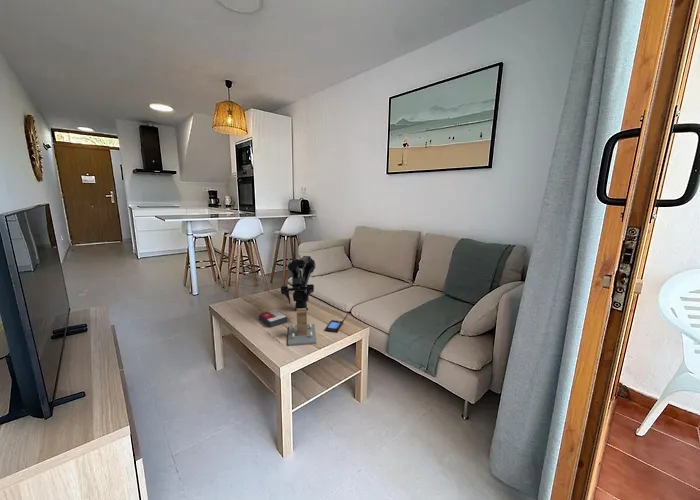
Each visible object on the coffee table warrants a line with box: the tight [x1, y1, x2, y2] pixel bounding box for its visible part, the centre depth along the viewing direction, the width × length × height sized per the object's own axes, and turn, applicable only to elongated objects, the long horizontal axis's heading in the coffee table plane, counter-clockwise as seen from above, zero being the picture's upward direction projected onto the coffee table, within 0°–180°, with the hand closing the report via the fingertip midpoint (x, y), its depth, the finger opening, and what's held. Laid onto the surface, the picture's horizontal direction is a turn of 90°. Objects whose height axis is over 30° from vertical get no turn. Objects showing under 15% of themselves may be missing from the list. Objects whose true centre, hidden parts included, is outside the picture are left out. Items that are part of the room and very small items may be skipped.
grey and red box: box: [258, 309, 288, 329], centre depth 170 cm, size 11×4×15 cm
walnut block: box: [296, 308, 308, 336], centre depth 152 cm, size 5×5×13 cm
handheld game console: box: [324, 312, 350, 334], centre depth 162 cm, size 12×11×7 cm
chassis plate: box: [287, 323, 317, 347], centre depth 153 cm, size 20×14×4 cm
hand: (298, 302), depth 164 cm, fingers open, 9 cm apart
